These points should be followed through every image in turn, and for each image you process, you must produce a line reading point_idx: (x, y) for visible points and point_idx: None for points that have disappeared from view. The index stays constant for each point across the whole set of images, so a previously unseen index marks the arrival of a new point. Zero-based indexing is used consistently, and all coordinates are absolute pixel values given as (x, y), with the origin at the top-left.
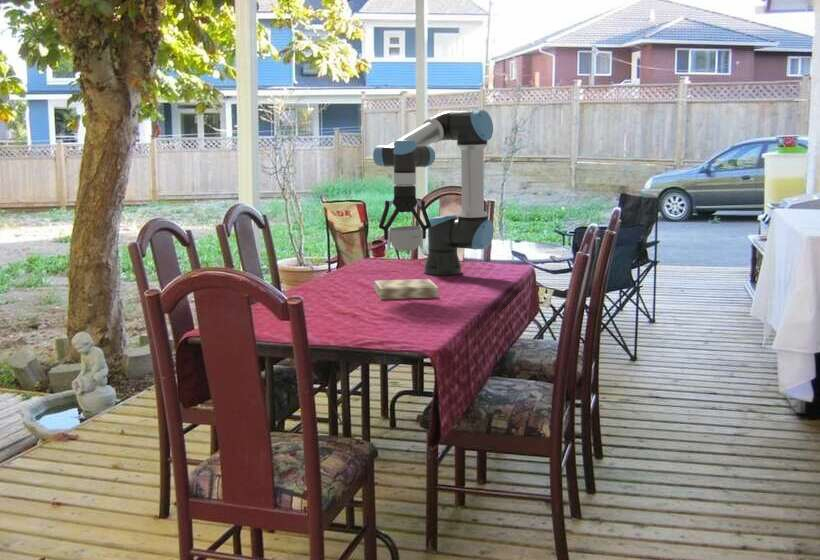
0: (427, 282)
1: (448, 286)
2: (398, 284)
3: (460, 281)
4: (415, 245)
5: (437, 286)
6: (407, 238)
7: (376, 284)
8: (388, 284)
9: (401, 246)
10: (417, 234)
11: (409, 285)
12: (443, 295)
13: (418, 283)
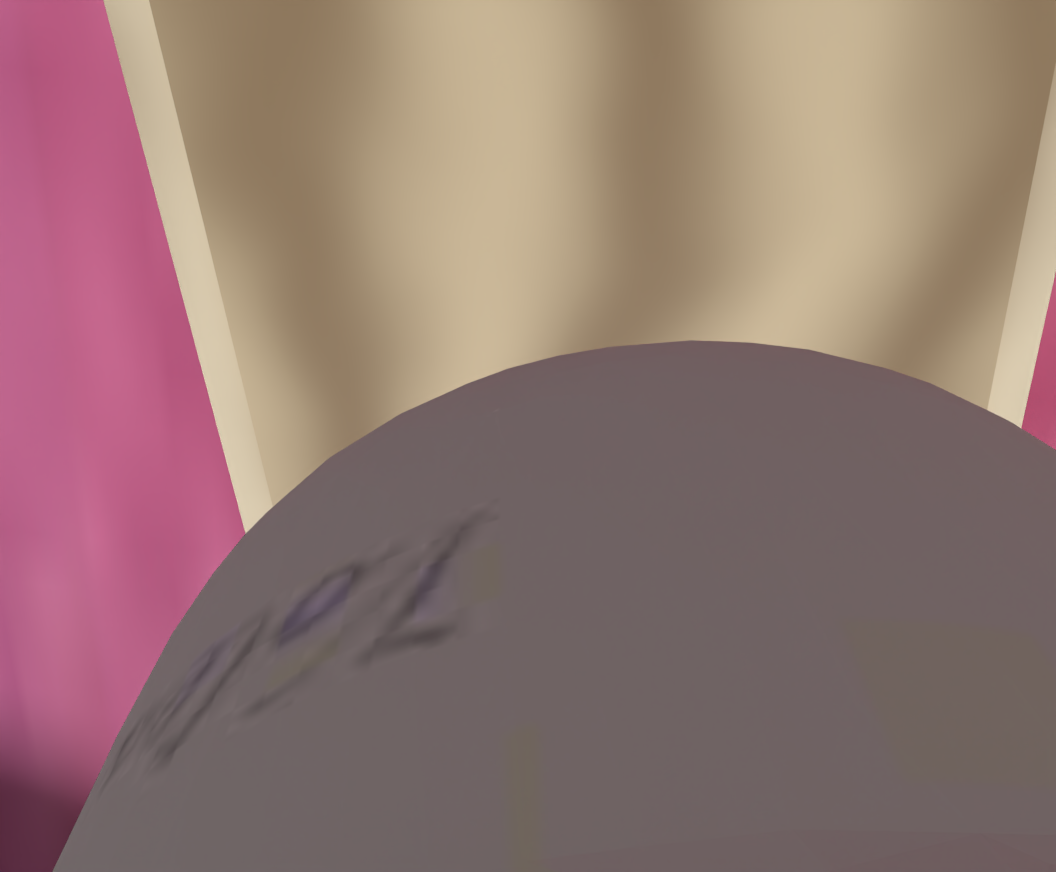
0: (283, 351)
1: (92, 638)
2: (739, 224)
3: (5, 839)
4: (359, 441)
5: (107, 9)
6: (754, 497)
7: (1020, 391)
8: (895, 242)
9: (927, 382)
10: (121, 825)
11: (576, 108)
12: (86, 73)
13: (419, 281)
